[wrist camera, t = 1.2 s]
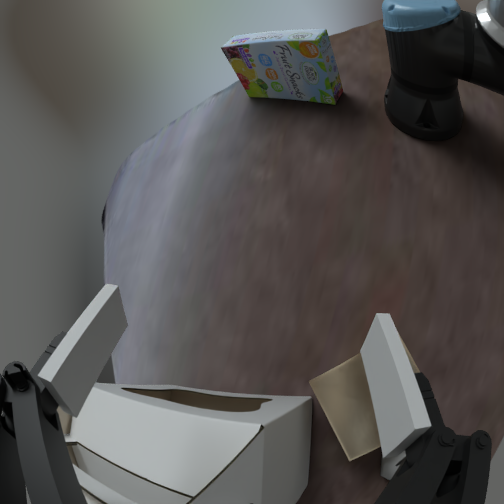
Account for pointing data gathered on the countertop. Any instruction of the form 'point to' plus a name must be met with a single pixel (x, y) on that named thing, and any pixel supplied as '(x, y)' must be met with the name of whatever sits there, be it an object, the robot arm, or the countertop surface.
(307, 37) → the snack box
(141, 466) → the gable box
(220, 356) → the countertop surface
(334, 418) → the beech box
